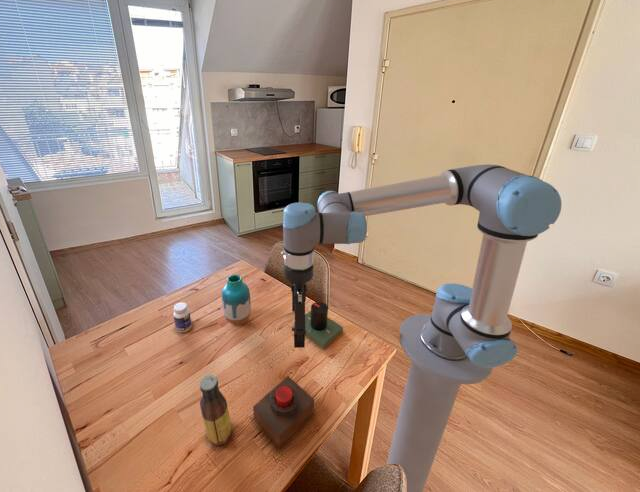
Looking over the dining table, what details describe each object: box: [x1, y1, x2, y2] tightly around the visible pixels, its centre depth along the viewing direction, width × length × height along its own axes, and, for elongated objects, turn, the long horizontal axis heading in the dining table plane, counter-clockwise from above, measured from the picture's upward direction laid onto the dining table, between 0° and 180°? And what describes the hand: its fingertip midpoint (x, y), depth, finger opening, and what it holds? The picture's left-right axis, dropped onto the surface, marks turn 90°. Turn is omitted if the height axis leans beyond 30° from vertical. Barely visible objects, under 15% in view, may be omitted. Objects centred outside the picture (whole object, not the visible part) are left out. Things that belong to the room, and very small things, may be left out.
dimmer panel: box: [293, 310, 344, 350], centre depth 108 cm, size 14×11×3 cm
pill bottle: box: [172, 301, 192, 333], centre depth 108 cm, size 6×6×10 cm
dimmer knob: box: [310, 301, 329, 331], centre depth 105 cm, size 6×6×8 cm
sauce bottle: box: [199, 374, 232, 446], centre depth 72 cm, size 6×6×20 cm
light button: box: [276, 386, 292, 407], centre depth 76 cm, size 4×4×2 cm
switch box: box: [252, 375, 315, 450], centre depth 78 cm, size 13×10×8 cm
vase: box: [221, 274, 252, 325], centre depth 110 cm, size 11×11×19 cm
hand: (297, 327), depth 83 cm, fingers open, 13 cm apart
